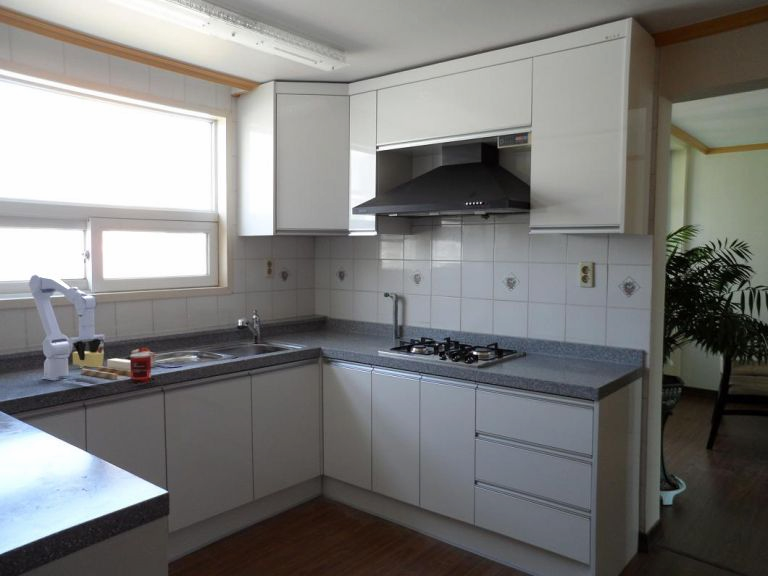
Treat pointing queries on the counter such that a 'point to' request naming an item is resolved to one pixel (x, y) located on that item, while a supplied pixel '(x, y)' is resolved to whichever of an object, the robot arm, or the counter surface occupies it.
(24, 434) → the counter surface
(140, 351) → the food item
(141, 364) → the canned food
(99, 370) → the slot board
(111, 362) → the white bar
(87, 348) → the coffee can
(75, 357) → the pale yellow bar
